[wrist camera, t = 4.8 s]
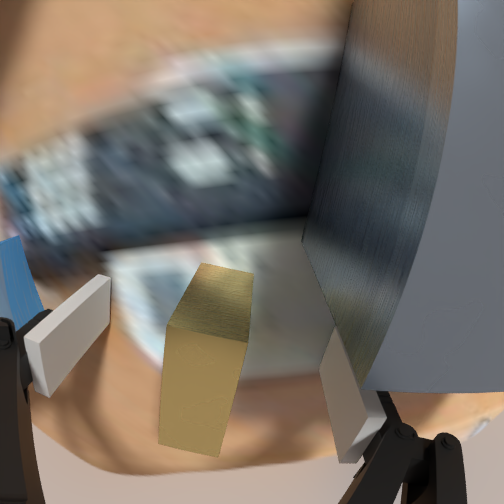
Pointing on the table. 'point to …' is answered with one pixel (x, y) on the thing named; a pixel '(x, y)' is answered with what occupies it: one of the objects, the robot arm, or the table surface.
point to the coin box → (416, 197)
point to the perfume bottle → (17, 285)
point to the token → (204, 359)
